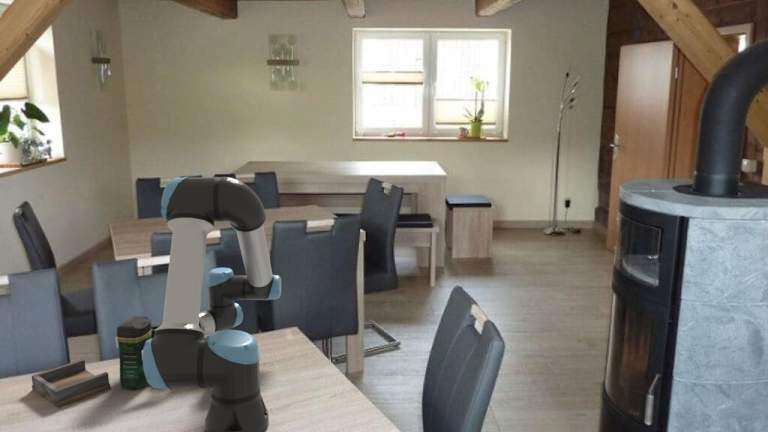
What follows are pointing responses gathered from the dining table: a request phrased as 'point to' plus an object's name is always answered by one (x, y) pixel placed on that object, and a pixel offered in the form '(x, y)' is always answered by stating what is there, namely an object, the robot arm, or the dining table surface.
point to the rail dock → (69, 384)
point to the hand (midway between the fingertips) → (129, 349)
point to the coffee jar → (133, 351)
